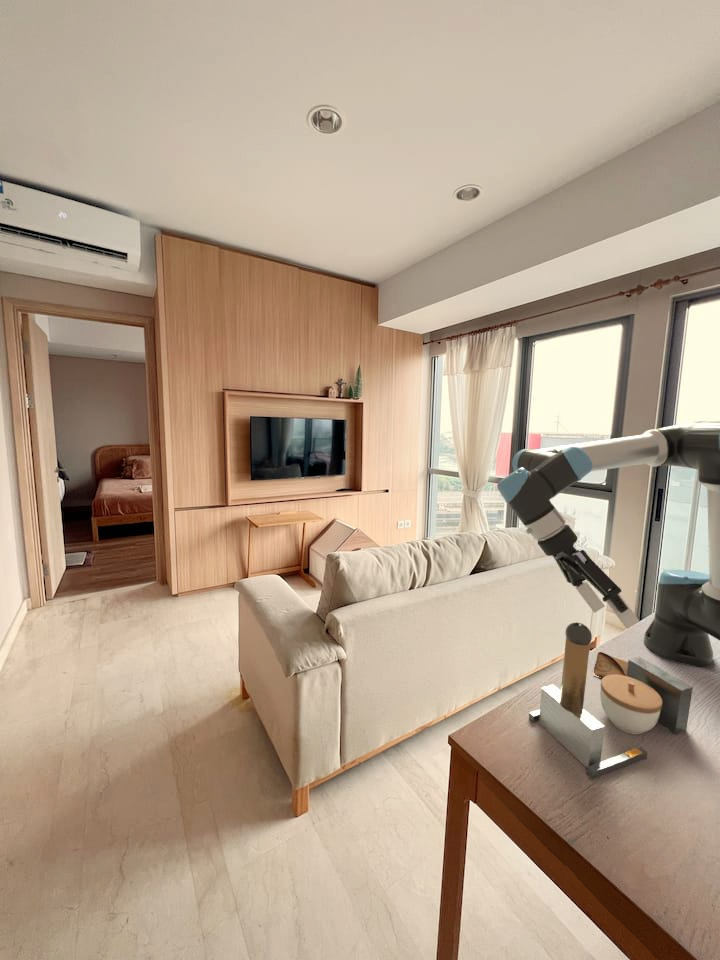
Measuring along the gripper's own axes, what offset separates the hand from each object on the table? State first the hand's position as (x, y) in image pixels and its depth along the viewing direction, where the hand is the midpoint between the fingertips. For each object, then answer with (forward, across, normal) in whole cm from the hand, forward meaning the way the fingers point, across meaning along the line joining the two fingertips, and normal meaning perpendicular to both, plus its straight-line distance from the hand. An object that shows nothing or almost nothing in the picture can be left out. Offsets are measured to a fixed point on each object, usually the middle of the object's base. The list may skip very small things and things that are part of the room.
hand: (614, 616), depth 83 cm
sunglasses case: (+23, -18, -2) cm, 29 cm away
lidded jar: (+20, -4, -11) cm, 23 cm away
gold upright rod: (+13, +4, -24) cm, 27 cm away
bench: (+18, -1, -15) cm, 23 cm away
